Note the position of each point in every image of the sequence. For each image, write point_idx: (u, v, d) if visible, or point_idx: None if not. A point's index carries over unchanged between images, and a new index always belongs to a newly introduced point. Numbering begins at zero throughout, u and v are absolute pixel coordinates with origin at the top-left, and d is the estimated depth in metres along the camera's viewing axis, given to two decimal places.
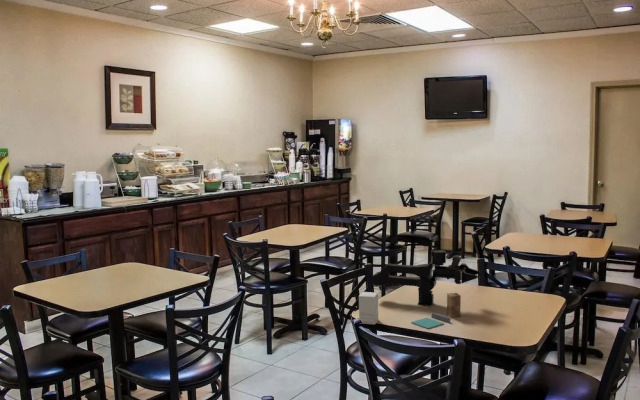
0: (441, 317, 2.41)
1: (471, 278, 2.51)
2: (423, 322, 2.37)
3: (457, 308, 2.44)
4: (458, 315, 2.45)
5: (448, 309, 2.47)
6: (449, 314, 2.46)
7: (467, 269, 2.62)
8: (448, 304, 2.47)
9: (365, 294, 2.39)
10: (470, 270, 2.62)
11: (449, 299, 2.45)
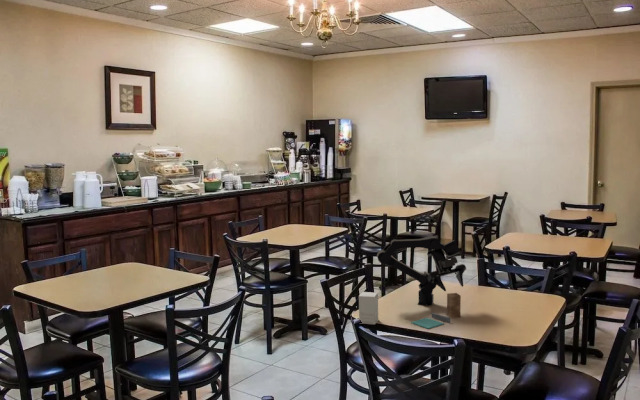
0: (441, 317, 2.41)
1: (440, 286, 2.55)
2: (423, 322, 2.37)
3: (457, 308, 2.44)
4: (458, 315, 2.45)
5: (448, 309, 2.47)
6: (449, 314, 2.46)
7: (458, 274, 2.58)
8: (448, 304, 2.47)
9: (365, 294, 2.39)
10: (459, 277, 2.58)
11: (449, 299, 2.45)
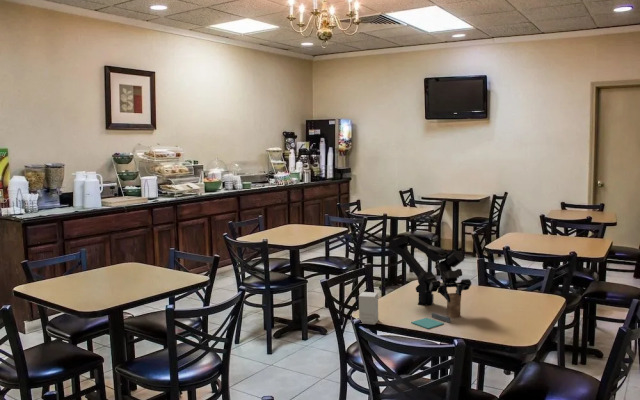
0: (441, 317, 2.41)
1: (445, 297, 2.47)
2: (423, 322, 2.37)
3: (457, 308, 2.44)
4: (458, 315, 2.45)
5: (448, 309, 2.47)
6: (449, 314, 2.46)
7: (458, 288, 2.48)
8: (448, 304, 2.47)
9: (365, 294, 2.39)
10: (458, 291, 2.48)
11: None
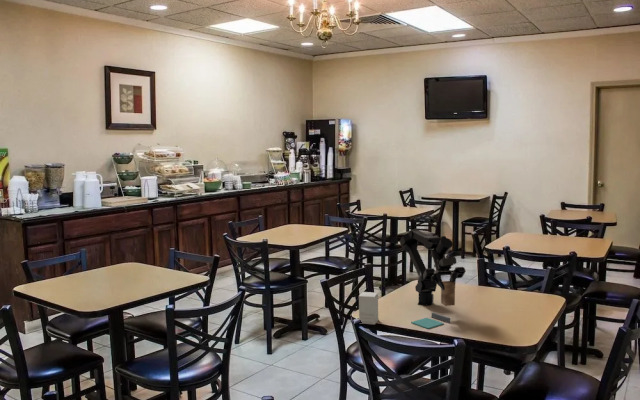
0: (441, 317, 2.41)
1: (439, 285, 2.43)
2: (423, 322, 2.37)
3: (451, 295, 2.41)
4: (452, 303, 2.41)
5: (442, 297, 2.43)
6: (443, 302, 2.42)
7: (452, 276, 2.45)
8: (442, 292, 2.43)
9: (365, 294, 2.39)
10: (452, 279, 2.44)
11: None
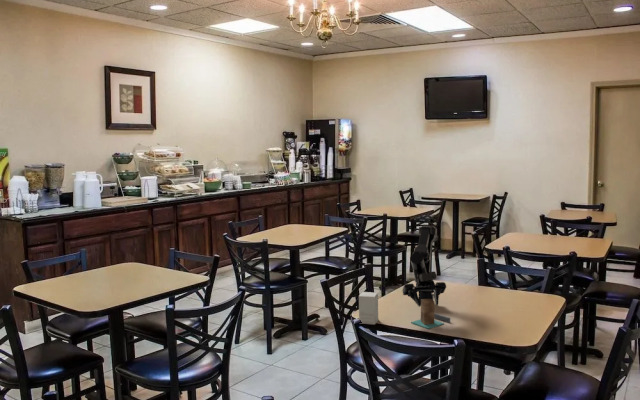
0: (441, 317, 2.41)
1: (415, 301, 2.36)
2: None
3: (431, 314, 2.34)
4: (432, 322, 2.34)
5: (422, 315, 2.36)
6: (423, 321, 2.35)
7: (435, 291, 2.38)
8: (422, 310, 2.36)
9: (365, 294, 2.39)
10: (435, 295, 2.37)
11: (423, 305, 2.35)
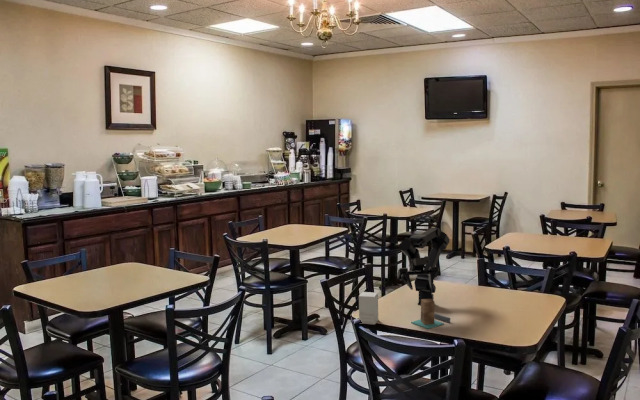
0: (441, 317, 2.41)
1: (408, 285, 2.44)
2: None
3: (431, 314, 2.34)
4: (432, 322, 2.34)
5: (422, 315, 2.36)
6: (423, 321, 2.35)
7: (430, 275, 2.46)
8: (422, 310, 2.36)
9: (365, 294, 2.39)
10: (430, 279, 2.46)
11: (423, 305, 2.35)
